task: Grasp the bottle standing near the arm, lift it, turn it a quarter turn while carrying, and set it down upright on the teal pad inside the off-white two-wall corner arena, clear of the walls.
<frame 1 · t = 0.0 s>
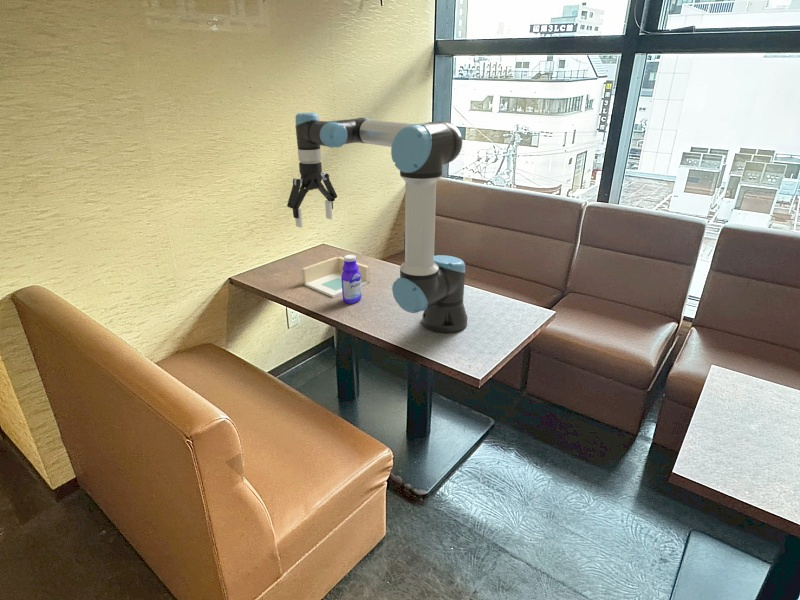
hand: (314, 222, 179), 28 cm above the table, fingers open, 13 cm apart
arena: (336, 283, 200), on the table
bottle: (352, 301, 186), on the table
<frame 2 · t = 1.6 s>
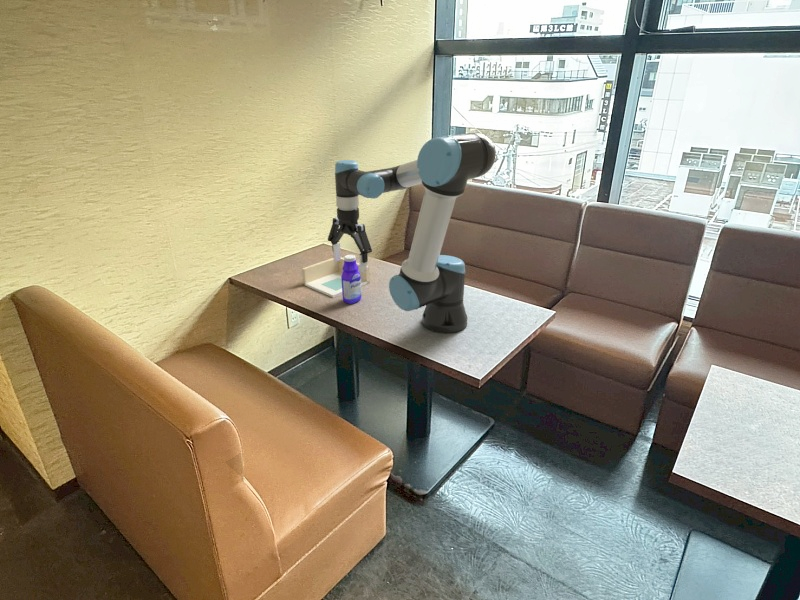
hand: (350, 265, 180), 14 cm above the table, fingers open, 13 cm apart
nothing on the table moved.
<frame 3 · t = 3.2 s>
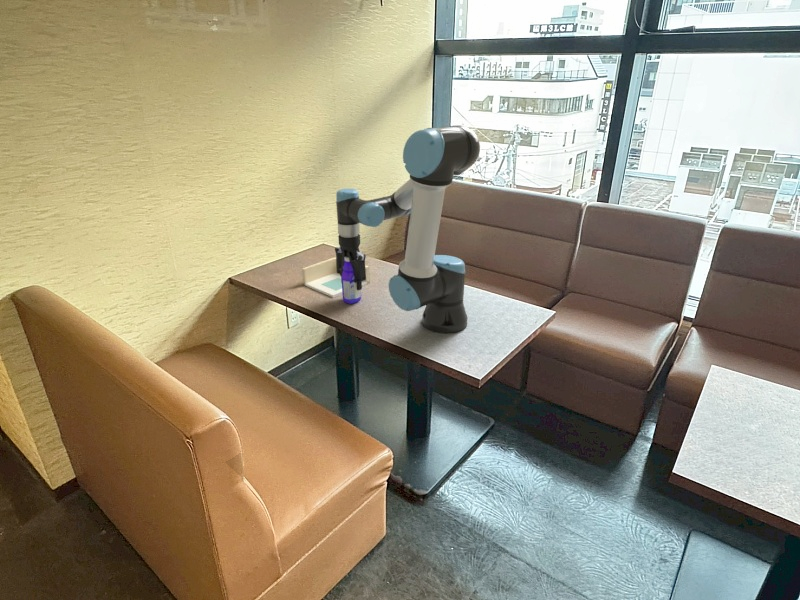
hand: (351, 294, 185), 2 cm above the table, fingers closed on bottle, 5 cm apart
bottle: (352, 301, 186), on the table, touching gripper
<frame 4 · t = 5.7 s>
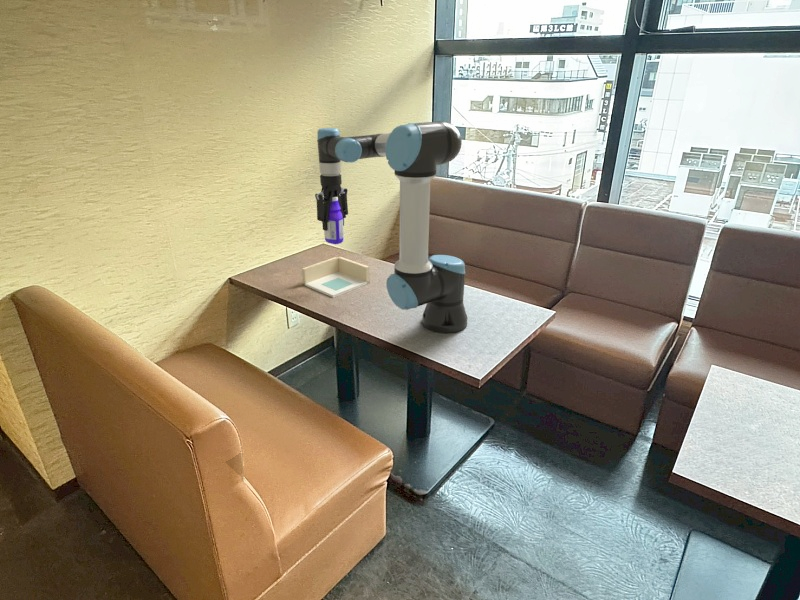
hand: (334, 236, 189), 21 cm above the table, fingers closed on bottle, 5 cm apart
bottle: (334, 242, 190), point 18 cm above the table, touching gripper
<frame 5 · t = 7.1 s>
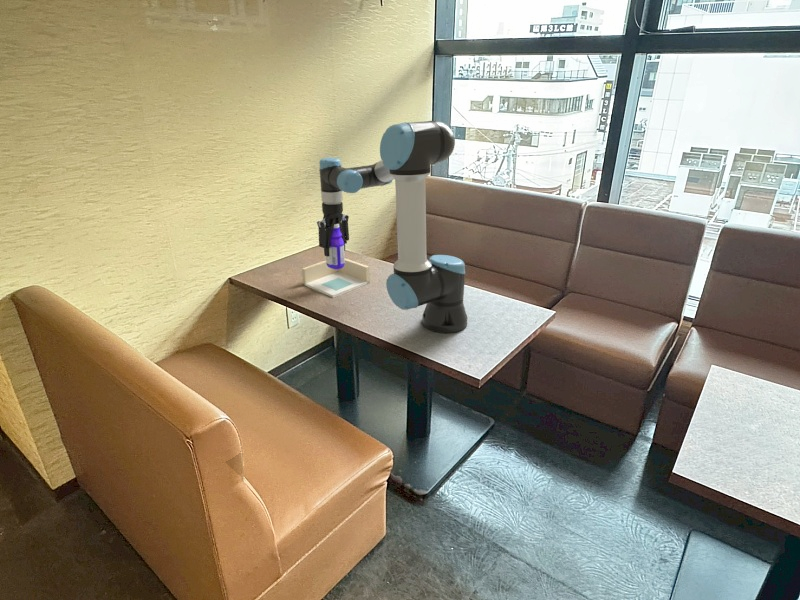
hand: (335, 261, 193), 10 cm above the table, fingers closed on bottle, 5 cm apart
bottle: (335, 267, 195), point 8 cm above the table, touching gripper
when the fingers open (5 cm above the table, at t = 8.4 s): bottle stays where it is, resting on arena.
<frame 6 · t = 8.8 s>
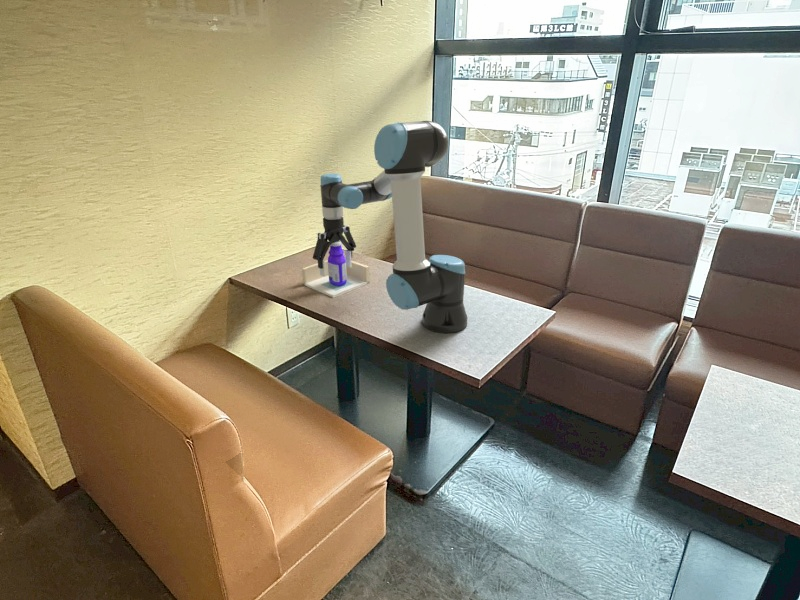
hand: (336, 270, 195), 7 cm above the table, fingers open, 12 cm apart
bottle: (338, 283, 198), point 1 cm above the table, touching arena
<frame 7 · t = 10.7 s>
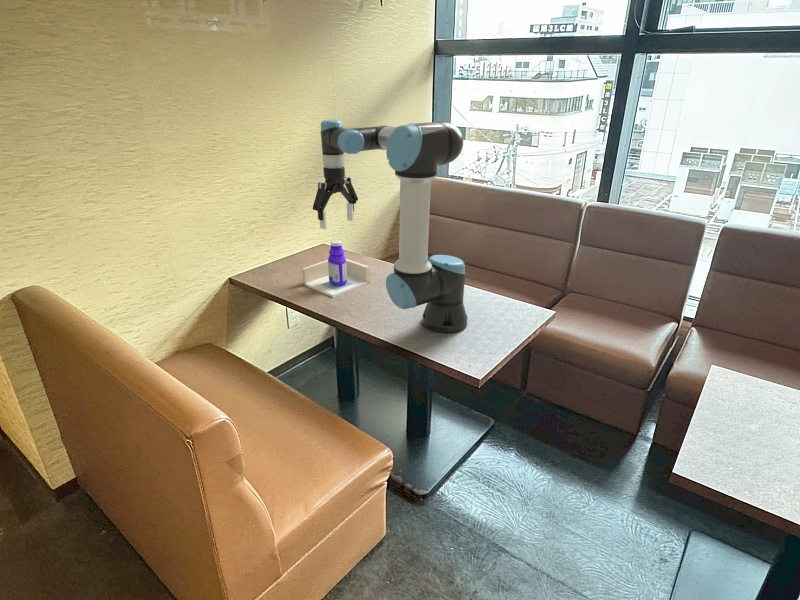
hand: (337, 224, 188), 25 cm above the table, fingers open, 13 cm apart
nothing on the table moved.
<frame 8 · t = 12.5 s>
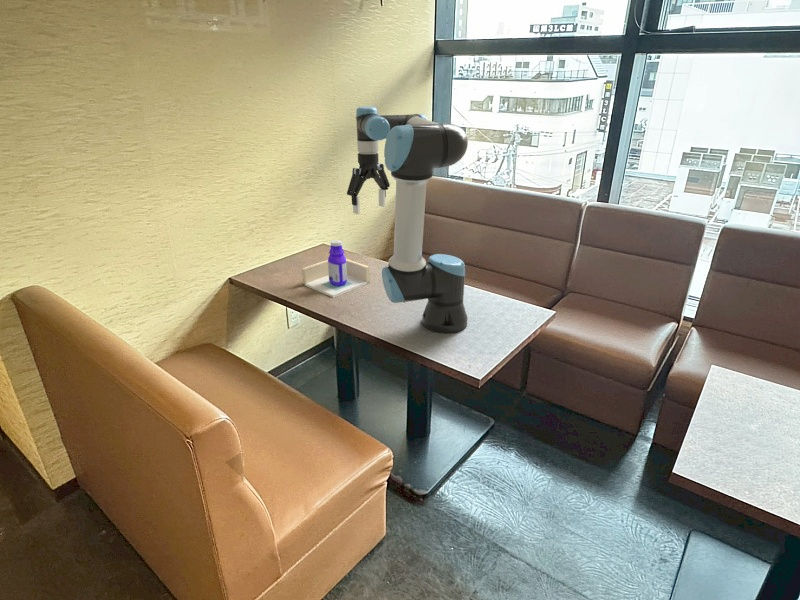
hand: (369, 209, 192), 29 cm above the table, fingers open, 13 cm apart
nothing on the table moved.
at the end: bottle inside the target area on the arena (0.6 cm from its centre), point 0.8 cm above the arena's base; bottle tilted 0°; the gripper is holding nothing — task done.
